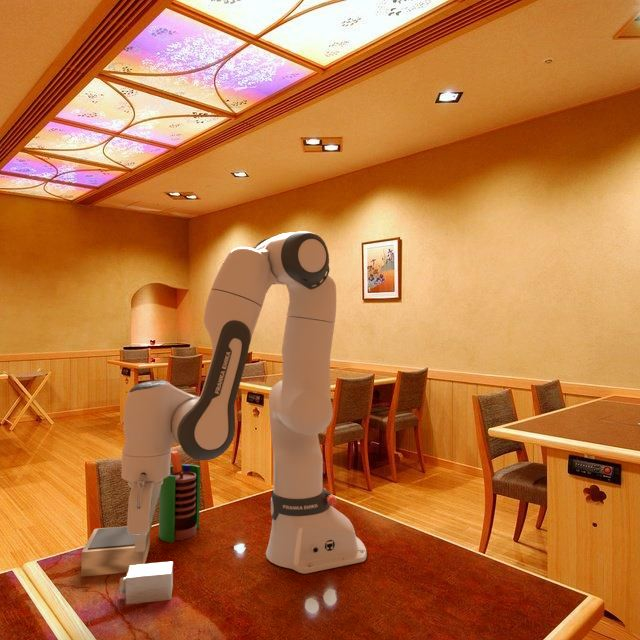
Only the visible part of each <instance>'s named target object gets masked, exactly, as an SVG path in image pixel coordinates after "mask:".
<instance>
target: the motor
mask: <svg viewBox="0 0 640 640" xmlns="http://www.w3.org/2000/svg"><path fill="white" fill-rule="evenodd" d="M171 463H172V465H170V475H169V476H168V477H166V478H164V479H163V484H162V485H161V489H160V495H159V499H158V501H159V503H158V504H159V506H158V508H159V510H158V511H159V513H158V538H159V539H160V540H161V541H163V542H167V543H174V542H175V541H183V540H187V539H191V538H193V537H194V536H196V535H197V529H199V528H200V504H201V503H200V499H201V498H200V495H201V494H200V493H201V466H199V465H196V464H189V463H188V464H186V463H182V459H181V456H180V453H179V451H177V450H171Z"/></svg>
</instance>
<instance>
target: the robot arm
mask: <svg viewBox="0 0 640 640" xmlns="http://www.w3.org/2000/svg"><path fill="white" fill-rule="evenodd" d="M329 264H330V254H329V249H328V246H327V244H326V242H325V240H324V239H322V237H321V236H319V235H318V234H316V233H314V232H311V231H304V230H303V231H302V230H300V231H295V232H285V233H281V234H278V235H276V236H273V237H268V238H265V239H263V240H261V241H259V242H258V243H257V244H256V245H254V247H253V248H252V247H248V246H240V247H239V246H238V247H236V248H234V249H232V250H231V251H229V253H228V254H227V256H226V258H225V259H224V261H223V262H222V264H221V266H220V268H219V271H218V273H217V274H216V277H215V279H214V281H213V283H212V286H211V288H210V291H209V294H208V297H207V301H206V304H205V309H204V315H203V317H204V318H203V323H204V326H205V328H206V332H207V333H208V334H209V338H210V341H211V346H212V347H211V348H212V350H211V351H212V352H211V359H210V363H209V365H208V368H207V369H208V370H207V373H206V376H205V380H204V383H203V387H202V390H201V393H200V396H198V395H194V394H191V393H188V392H187V391H184V390H182V389H180V388H178V387H177V386H174V385H173V384H171V383H170V382H169V381H168V380H161V379H160V380H159V379H157V380H150V381H145V382H141V383H137V384H136V385H134V386H133V387H131V389H129V391H128V393H127V395H126V399H125V403H124V411H123V423H122V424H123V425H122V427H123V428H122V430H123V434H124V444H123V447H122V454H121V455H122V456H121V475H120V476H121V479H123V480H124V481H127V483H128V484H127V486H128V487H129V488H131V489H130V491H129V496H128V506H127V507H128V508H127V523H126V524H127V525H126V526H127V532H128V534H129V535H134V540H135V551H136V552H143V551H145V548H146V534H147V533H148V532H149V530H150V531H151V530H152V526H153V518H154V515H155V511H156V507H157V505H158V501H159V499H160V489H161V485H162V484H163V479H164V478H166V477H168V476H169V475H170V466H172V465H171V463H172V462H171V451H172V447H173V446H174V445H179V446H180V447H181V449H182V451H183V452H184V453H185V454H186V455H187V456H188V457H190V458H192V459H193V460H197V461H210V460H213V459H216V458H218V457H220V456H221V455H223V454H224V453H225V452H227V450H228V449H229V447H230V446H231V444H232V443H233V441H234V438H235V432H236V425H235V424H236V422H235V421H236V420H235V405H236V399H237V396H238V393H239V388H240V385H241V381H242V378H243V374H244V370H245V366H246V362H247V358H248V353H249V349H250V345H251V341H252V339H253V335H254V332H255V329H256V327H257V324H258V319H259V317H260V314H261V311H262V309H263V305H264V304H265V303H264V302H265V298H266V295H267V293H268V291H269V289H270V288H271V287H272V286H273V285H284V286H286V288H287V290H288V298H289V299H288V300H289V302H288V307H287V312H286V317H285V318H286V319H285V326H284V334H283V339H282V346H281V356H282V357H281V358H282V379H281V380H279V381H277V382H276V383H275V384H274V385H273V387H272V388H271V389H270V391H269V395H268V407H269V423H270V424H269V426H270V436H271V444H272V445H271V446H272V454H273V455H272V456H273V458H272V459H273V489H272V490H271V497H270V514H271V519H272V520H271V528H270V535H269V541H268V545H267V548H266V551H265V557H266V559H267V560H268V561H269V562H270V563H272V564H274V565H276V566H279V567H283V568H286V569H291V570H294V571H295V572H297V573H299V574H310V573H316V572H319V571H324V570H330V569H334V568H339V567H344V566H349V565H355V564H358V563H364V562H365V561H366V559H367V556H368V554H367V548H366V546H365V544H364V543H363V541H362V540H361V539H360V538H359V537H357V536H356V531H355V528H354V525H353V524H352V522H351V520H350V519H349V518H348V517H347V516H346V515H345V514H343V513H342V512H340V511H339V510H337V509H336V508H335V506H336V505H337V502H338V499H337V498H336V497H335V495H334V494H331V492H330V491H328V489H326V488H325V487H323V471H324V470H323V465H324V464H323V462H324V459H323V453H322V452H323V451H322V449H321V444H320V440H319V434H321V433H323V432H324V431H325V430H326V429H327V428H328V427H329V426H330V424H331V422H332V419H333V416H334V409H333V408H334V407H333V405H332V404H333V403H332V400H331V399H332V398H331V353H332V346H333V338H334V331H335V325H336V323H335V322H336V316H337V314H336V313H337V287H336V282H335V280H334V279H333V278H332V276H329V273H330V270H331V269H330V266H329Z"/></svg>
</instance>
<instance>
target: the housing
mask: <svg viewBox="0 0 640 640" xmlns="http://www.w3.org/2000/svg"><path fill="white" fill-rule="evenodd" d="M118 583H119V584H118V594H119V595H122V594H125V605H133V604H143V603H151V602H153V603H154V602H160V601H170V600H172V594H173V588H174V561H162V562H161V561H160V562H151V563H145V564H139V565H130V567H129V570H128V572H126V576H122V577H120V578H119V581H118Z"/></svg>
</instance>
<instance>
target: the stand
mask: <svg viewBox="0 0 640 640" xmlns="http://www.w3.org/2000/svg"><path fill="white" fill-rule="evenodd" d="M150 545H151V529H150V530H149V532H148V533H147V534H146V548H145V551H143V552H136V551H135V540H134V535H129V534H128V532H127V525H125V526H115V527H113V526H112V527H102V528H101V527H99V528H94V529H93V531H92V532H91V534H90V537H89V538H88V539H87V541H86V544H85V545H84V547H83V549H82V550H81V559H80V560H81V565H80V566H81V568H80V569H81V570H80V571H81V572H80V573H81V577H82V578H84V577H93V576H104V575H114V574H123V573H126V574H127V573H128V570H129V567H130V565H139V564H146V561H147V558H148V553H149V551H150V548H151V547H150Z"/></svg>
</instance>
